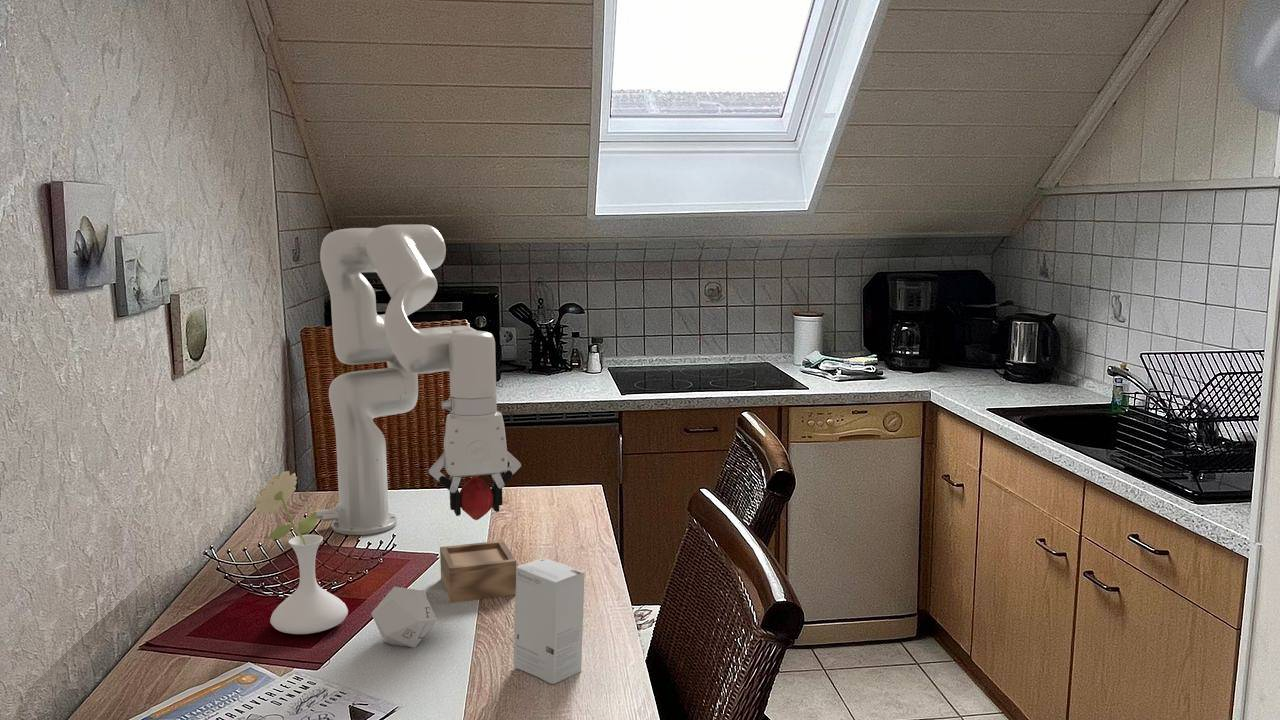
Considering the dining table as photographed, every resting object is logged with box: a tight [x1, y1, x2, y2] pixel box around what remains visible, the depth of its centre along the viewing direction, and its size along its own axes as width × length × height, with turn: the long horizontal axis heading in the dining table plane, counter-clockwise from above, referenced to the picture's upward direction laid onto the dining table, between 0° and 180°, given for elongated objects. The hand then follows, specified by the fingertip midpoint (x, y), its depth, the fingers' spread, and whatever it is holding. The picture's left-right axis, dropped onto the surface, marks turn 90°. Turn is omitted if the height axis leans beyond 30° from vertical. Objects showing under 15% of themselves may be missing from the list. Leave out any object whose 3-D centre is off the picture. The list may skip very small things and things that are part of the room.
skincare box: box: [513, 557, 586, 685], centre depth 137 cm, size 8×6×15 cm
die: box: [370, 586, 438, 649], centre depth 147 cm, size 8×9×10 cm
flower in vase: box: [252, 470, 349, 635], centre depth 151 cm, size 13×11×25 cm
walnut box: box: [439, 539, 517, 604], centre depth 169 cm, size 11×11×6 cm
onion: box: [459, 476, 494, 521], centre depth 167 cm, size 6×6×8 cm
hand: (476, 510), depth 167 cm, fingers closed on onion, 5 cm apart
